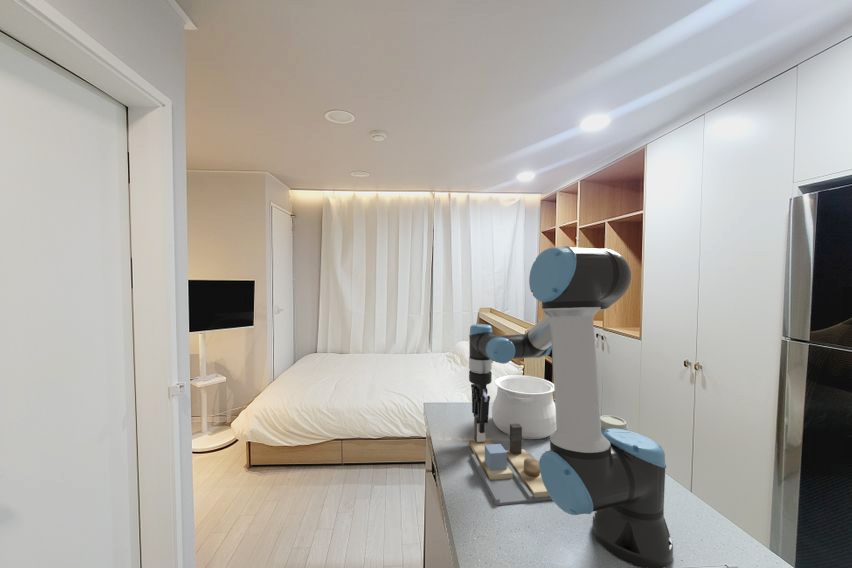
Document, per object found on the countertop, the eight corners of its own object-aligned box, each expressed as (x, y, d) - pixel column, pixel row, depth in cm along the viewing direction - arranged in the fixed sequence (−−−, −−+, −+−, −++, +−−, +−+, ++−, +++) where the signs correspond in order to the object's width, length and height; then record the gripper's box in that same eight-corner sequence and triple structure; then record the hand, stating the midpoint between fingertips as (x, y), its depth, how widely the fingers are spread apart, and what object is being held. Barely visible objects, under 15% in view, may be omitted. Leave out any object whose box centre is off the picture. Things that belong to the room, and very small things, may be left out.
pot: (500, 409, 147) (500, 371, 147) (560, 420, 137) (561, 379, 136) (483, 434, 124) (484, 388, 124) (554, 450, 114) (555, 400, 113)
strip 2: (559, 495, 89) (559, 458, 89) (534, 497, 88) (534, 460, 88) (524, 453, 110) (524, 423, 110) (503, 455, 109) (503, 424, 109)
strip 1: (512, 477, 97) (513, 443, 96) (489, 480, 96) (489, 445, 95) (488, 441, 117) (488, 413, 117) (468, 443, 116) (468, 414, 116)
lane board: (565, 498, 89) (565, 492, 89) (495, 505, 86) (496, 499, 86) (527, 454, 111) (527, 449, 111) (471, 458, 108) (471, 454, 108)
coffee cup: (631, 465, 105) (632, 427, 104) (601, 462, 106) (602, 424, 106) (621, 451, 113) (622, 415, 113) (593, 448, 115) (594, 413, 115)
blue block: (506, 469, 98) (507, 452, 98) (490, 470, 98) (490, 453, 98) (500, 460, 103) (500, 443, 103) (484, 461, 103) (484, 444, 103)
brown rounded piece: (542, 476, 95) (543, 465, 95) (528, 477, 95) (528, 467, 94) (535, 467, 100) (535, 457, 99) (521, 468, 99) (521, 458, 99)
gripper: (499, 376, 108) (498, 449, 109) (483, 363, 123) (482, 428, 124) (476, 377, 107) (475, 451, 107) (463, 364, 122) (462, 429, 123)
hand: (479, 438), depth 116 cm, fingers closed on strip 1, 2 cm apart
